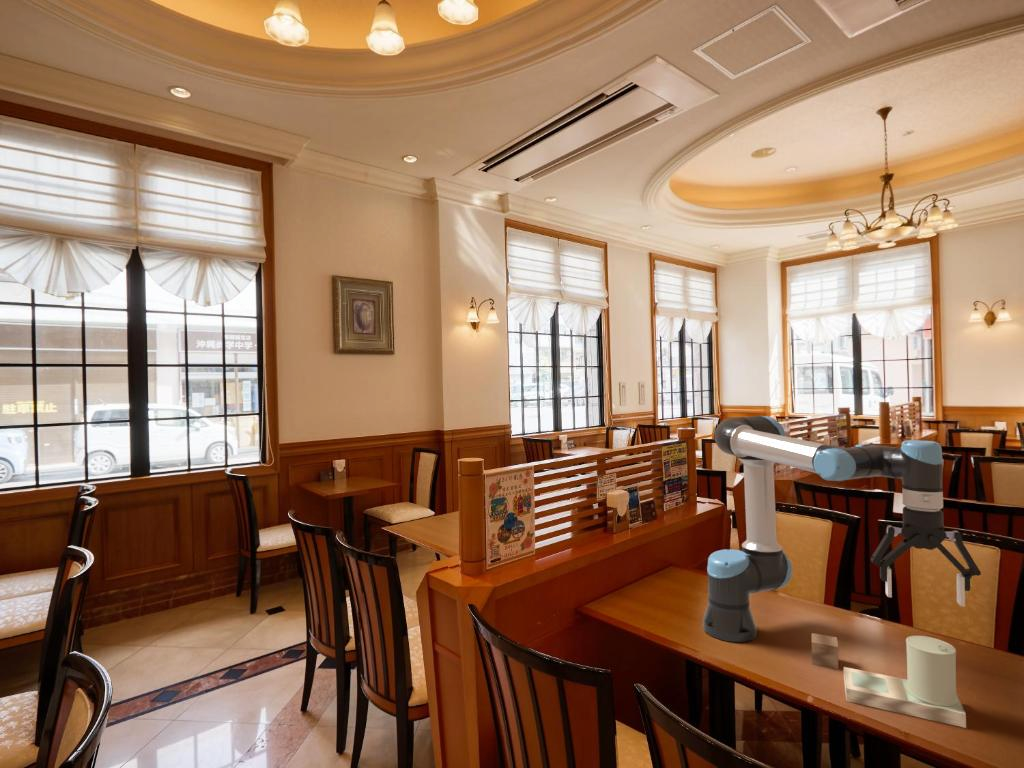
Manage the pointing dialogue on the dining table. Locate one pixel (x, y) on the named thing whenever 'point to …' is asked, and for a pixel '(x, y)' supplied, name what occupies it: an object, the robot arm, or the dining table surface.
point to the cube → (824, 651)
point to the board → (896, 697)
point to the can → (931, 670)
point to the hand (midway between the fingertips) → (923, 599)
